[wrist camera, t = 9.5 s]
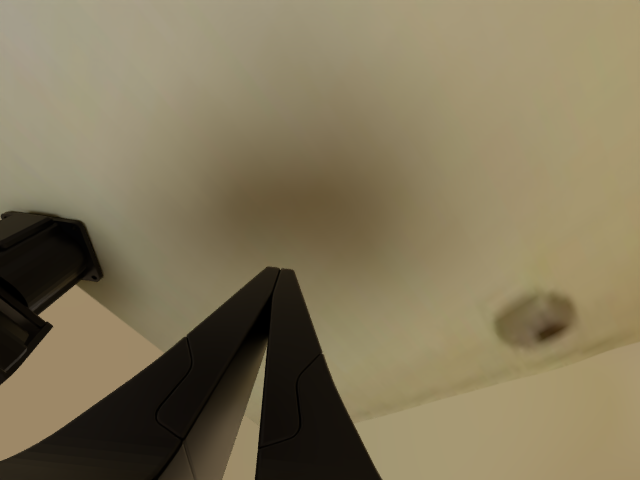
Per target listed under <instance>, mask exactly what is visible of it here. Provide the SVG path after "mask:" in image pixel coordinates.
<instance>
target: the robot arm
mask: <svg viewBox="0 0 640 480" xmlns="http://www.w3.org/2000/svg"><path fill="white" fill-rule="evenodd" d="M1 218H2V220H0V385H1V384H2V383H3V382H4V381H5V380H7V379H8V378H9V377H10V376H11V375H12V374H13V373H14V372H15V371H16V370H17V369H18V368H19V366H21V364H22V363H23V362H24V361H25V360H26V358H27V357H28V356H29V355H30V353H31V352H32V351H33V350H34V349H35V348H36V346H37V345H38V344H39V343H40V342H41V340H42V339H43V338H44V337H45V336H46V334H47V333H48V332H49V331H50V330H51V328H52V327H53V326H52V325H51V324H50V323H49V322H45V321H44V320H43V319H41V318H40V317H39V316H38V315H39V314H40V313H41V312H42V311H44V310H45V309H46V308H47V307H49V306H50V305H51V304H52V303H53V302H55V301H56V300H57V299H58V298H59V297H61V296H62V295H63V294H64V293H66V292H67V291H68V290H69V289H70V288H72V287H73V286H74V285H75V284H77V283H78V282H79V281H80V280H88V281H95V282H98V281H100V280H101V279H102V278H103V275H102V273H101V270H100V267H99V265H98V262H97V260H96V257H95V254H94V252H93V249H92V247H91V244H90V241H89V239H88V236H87V234H86V231H85V228H84V226H83V224H81V223H80V222H79V221H75V220H67V219H60V218H53V217H48V216H42V215H35V214H27V213H20V212H19V213H16V212H6V213H3V214H1ZM266 347H267V355H266V366H265V377H264V388H263V398H262V409H261V420H260V431H259V442H258V453H257V463H256V474H255V480H382V478H381V477H380V475H379V473H378V471H377V470H376V468H375V466H374V464H373V462H372V460H371V458H370V456H369V454H368V452H367V450H366V448H365V446H364V444H363V442H362V440H361V438H360V436H359V434H358V432H357V430H356V428H355V426H354V424H353V422H352V420H351V418H350V416H349V414H348V412H347V410H346V408H345V406H344V404H343V402H342V399H341V397H340V395H339V393H338V391H337V389H336V386H335V384H334V382H333V379H332V376H331V374H330V371H329V369H328V366H327V363H326V360H325V357H324V355H323V354H322V349H321V346H320V344H319V341H318V338H317V335H316V332H315V329H314V326H313V323H312V321H311V318H310V315H309V312H308V309H307V306H306V303H305V300H304V298H303V295H302V292H301V289H300V286H299V283H298V280H297V277H296V275H295V272H294V270H292V269H284V268H282V269H281V270H280V268H277V267H266V268H265V269H264V270H263V271H261V272H260V273H259V274H258V275H257V276H255V277H254V278H253V279H252V280H251V281H250V282H248V283H247V284H246V285H245V286H244V287H243V288H241V289H240V290H239V291H238V292H237V293H235V294H234V295H233V296H232V297H231V298H230V299H228V300H227V301H226V302H225V303H224V304H223V305H221V306H220V307H219V308H218V309H217V310H215V311H214V312H213V313H212V314H211V315H210V316H208V317H207V318H206V319H205V320H204V321H203V322H201V323H200V324H199V325H198V326H197V327H195V328H194V329H193V330H192V331H191V332H190V333H188V334H187V337H183V338H182V339H181V340H180V341H179V342H178V343H176V344H175V345H174V346H173V347H172V348H170V349H169V350H168V351H167V352H165V353H164V354H163V355H162V356H161V357H159V358H158V359H157V360H156V361H154V362H153V363H152V364H150V365H149V366H148V367H147V368H145V369H144V370H142V371H141V372H140V373H138V374H137V375H136V376H134V377H133V378H132V379H130V380H129V381H128V382H126V383H125V384H123V385H122V386H120V387H119V388H118V389H116V390H115V391H114V392H112V393H110V394H109V395H108V396H107V397H105V398H103V399H102V400H101V401H99V402H98V403H96V404H95V405H94V406H92V407H91V408H90V409H88V410H87V411H85V412H84V413H82V414H81V415H80V416H78V417H77V418H75V419H74V420H72V421H71V422H70V423H68V424H67V425H65V426H64V427H63V428H61V429H60V430H58V431H57V432H55V433H54V434H52V435H51V436H49V437H47V438H46V439H44V440H42V441H41V442H39V443H37V444H35V445H33V446H32V447H30V448H28V449H26V450H24V451H22V452H20V453H18V454H16V455H14V456H12V457H10V458H7V459H5V460H2V461H0V480H222V478H223V475H224V472H225V469H226V466H227V463H228V460H229V457H230V454H231V451H232V448H233V445H234V442H235V439H236V436H237V433H238V430H239V427H240V424H241V421H242V419H243V416H244V413H245V410H246V407H247V404H248V401H249V398H250V395H251V392H252V389H253V386H254V383H255V380H256V377H257V374H258V371H259V368H260V365H261V362H262V359H263V356H264V353H265V350H266Z"/></svg>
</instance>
